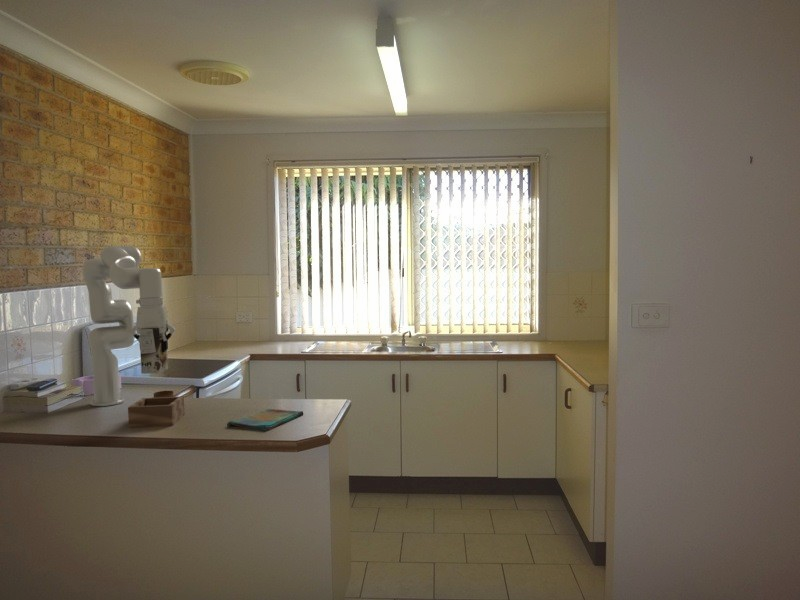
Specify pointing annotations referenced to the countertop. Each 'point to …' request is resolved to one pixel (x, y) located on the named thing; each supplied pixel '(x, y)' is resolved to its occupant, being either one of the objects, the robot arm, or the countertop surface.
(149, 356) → the coffee box
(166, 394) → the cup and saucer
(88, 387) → the pink plastic container
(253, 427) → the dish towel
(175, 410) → the open wooden box
